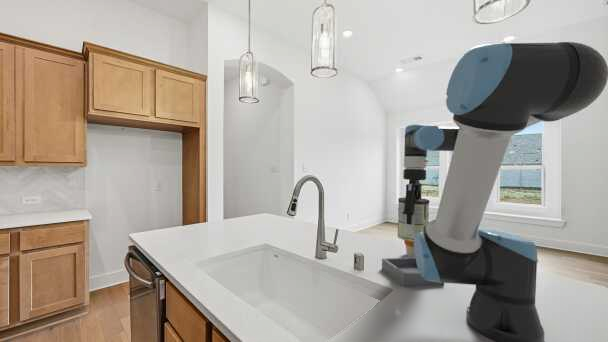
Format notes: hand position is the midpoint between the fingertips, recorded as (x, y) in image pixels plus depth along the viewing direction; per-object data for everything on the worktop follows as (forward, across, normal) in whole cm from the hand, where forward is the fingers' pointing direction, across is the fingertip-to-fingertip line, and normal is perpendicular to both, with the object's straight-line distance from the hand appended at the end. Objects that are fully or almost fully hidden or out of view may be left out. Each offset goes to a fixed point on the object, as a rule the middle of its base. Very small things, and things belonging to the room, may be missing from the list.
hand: (412, 230), depth 96 cm
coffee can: (+3, 0, 0) cm, 3 cm away
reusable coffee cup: (+17, +25, +3) cm, 30 cm away
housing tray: (+16, 0, 0) cm, 16 cm away
